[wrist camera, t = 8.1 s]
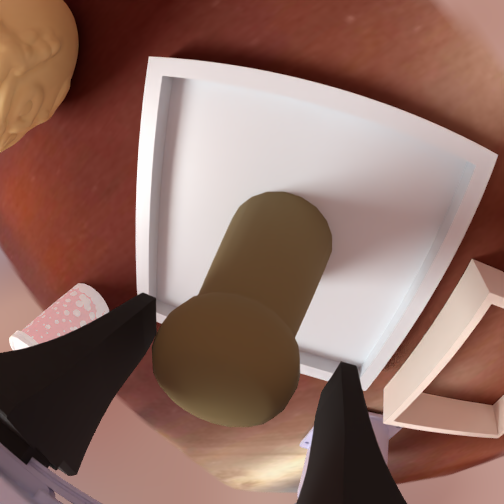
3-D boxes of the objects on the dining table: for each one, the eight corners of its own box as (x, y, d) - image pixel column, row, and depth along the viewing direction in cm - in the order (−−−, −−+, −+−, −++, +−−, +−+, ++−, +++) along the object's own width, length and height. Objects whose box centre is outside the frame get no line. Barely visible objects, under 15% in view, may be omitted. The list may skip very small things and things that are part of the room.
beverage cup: (92, 271, 26) (-17, 380, 14) (126, 325, 28) (39, 439, 17) (59, 281, 28) (-33, 371, 17) (90, 329, 31) (12, 423, 19)
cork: (273, 168, 17) (171, 295, 7) (354, 244, 17) (345, 421, 8) (210, 239, 20) (105, 374, 11) (283, 301, 21) (229, 457, 11)
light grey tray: (366, 370, 23) (365, 390, 21) (150, 298, 25) (138, 313, 24) (483, 146, 13) (498, 155, 11) (167, 57, 15) (148, 56, 14)
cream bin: (492, 409, 22) (498, 438, 19) (383, 388, 23) (383, 423, 20) (579, 307, 15) (596, 336, 12) (472, 258, 16) (489, 292, 13)
